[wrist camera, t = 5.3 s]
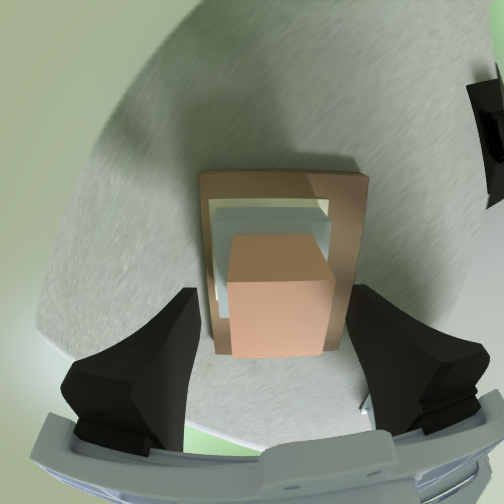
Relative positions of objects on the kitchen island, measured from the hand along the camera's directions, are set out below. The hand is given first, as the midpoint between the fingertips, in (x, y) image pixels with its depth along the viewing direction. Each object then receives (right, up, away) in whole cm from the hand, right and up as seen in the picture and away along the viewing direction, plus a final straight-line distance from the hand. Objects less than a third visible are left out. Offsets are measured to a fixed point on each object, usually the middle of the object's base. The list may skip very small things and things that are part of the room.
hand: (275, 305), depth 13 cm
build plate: (+19, +13, +2) cm, 23 cm away
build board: (+1, +1, +7) cm, 7 cm away
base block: (0, +2, +5) cm, 5 cm away
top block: (0, +2, +2) cm, 3 cm away
